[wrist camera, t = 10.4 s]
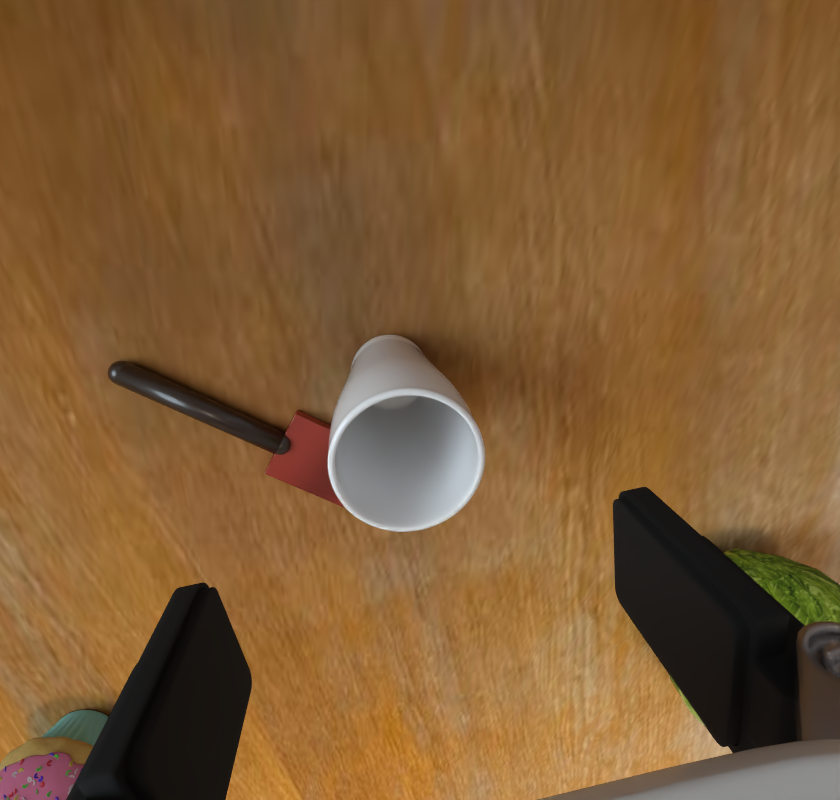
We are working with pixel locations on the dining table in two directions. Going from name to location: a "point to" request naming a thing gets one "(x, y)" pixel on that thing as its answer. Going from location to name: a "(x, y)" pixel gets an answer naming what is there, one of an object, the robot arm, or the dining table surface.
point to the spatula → (245, 429)
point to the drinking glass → (402, 440)
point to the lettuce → (788, 589)
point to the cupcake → (51, 759)
